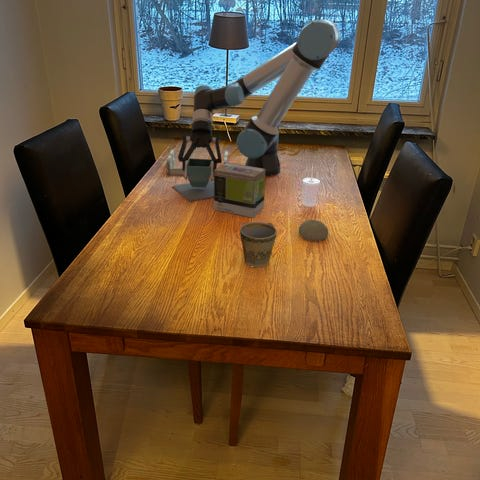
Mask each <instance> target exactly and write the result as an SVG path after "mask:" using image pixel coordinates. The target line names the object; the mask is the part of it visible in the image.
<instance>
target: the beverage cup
mask: <svg viewBox="0 0 480 480" xmlns="http://www.w3.org/2000/svg"><path fill="white" fill-rule="evenodd" d="M313 173H314V166H312V167H311V174H310V176H311V177H305V178H302V203H301V204H302V205H303V206H304V207H315V205H316V202H317V195H318V191H319V185H320V183H321V181H320V180H319V179H318V178H315V177H313V175H314V174H313Z"/></svg>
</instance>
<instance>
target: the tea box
mask: <svg viewBox="0 0 480 480" xmlns="http://www.w3.org/2000/svg"><path fill="white" fill-rule="evenodd" d="M265 170H266V169H264V168H257V167H251V166H245V164H240V163H239V164H238V163H231V162H228V163H225V164H224V163H223V164H222V165H220V166H219V167H217V169H215V170H214V176H213V182H214V198H213V200H214V201H213V205H214V206H213V207H214V210H215V211H220V212H224V213H230V214H234V215H238V216H244V217H247V218H252V219H253V218H254V217H256V216H257V215H258V214H259V213H260V212H261V211H263V209H264V205H265V194H266V193H265V191H266V190H265V189H266V186H265V185H266V176H265Z"/></svg>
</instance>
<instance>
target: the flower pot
mask: <svg viewBox="0 0 480 480" xmlns="http://www.w3.org/2000/svg"><path fill="white" fill-rule="evenodd" d="M211 162H213V161H212V159H210V158H208V159H206V158H191V157H190V158H189V159H188V163H187V165H186V168H187V181H188V183H190V184H191V186H192V187H206V186H207V184H208V182H209V180H210V179H211V176H210V173H211Z"/></svg>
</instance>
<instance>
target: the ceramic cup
mask: <svg viewBox="0 0 480 480" xmlns="http://www.w3.org/2000/svg"><path fill="white" fill-rule="evenodd" d="M277 232H278V231H277V228H276V227H275V226H274V225H273V223H272V222H268V223H267V222H261V221H259V222H258V221H256V222H255V221H251V222H248V223H244V224H243V225H241V226H240V228H239V235H240V240H241V245H242V252H243V257H244V258H243V259H244V262H245V264H246V266H248V265H249V267H251V266H253V267H252V268H254V267H258V268H264V267H266V264H267V265H268V264H269V262H270V259H271V256H272V251H273V247H274V245H275V242H276V238H277Z"/></svg>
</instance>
